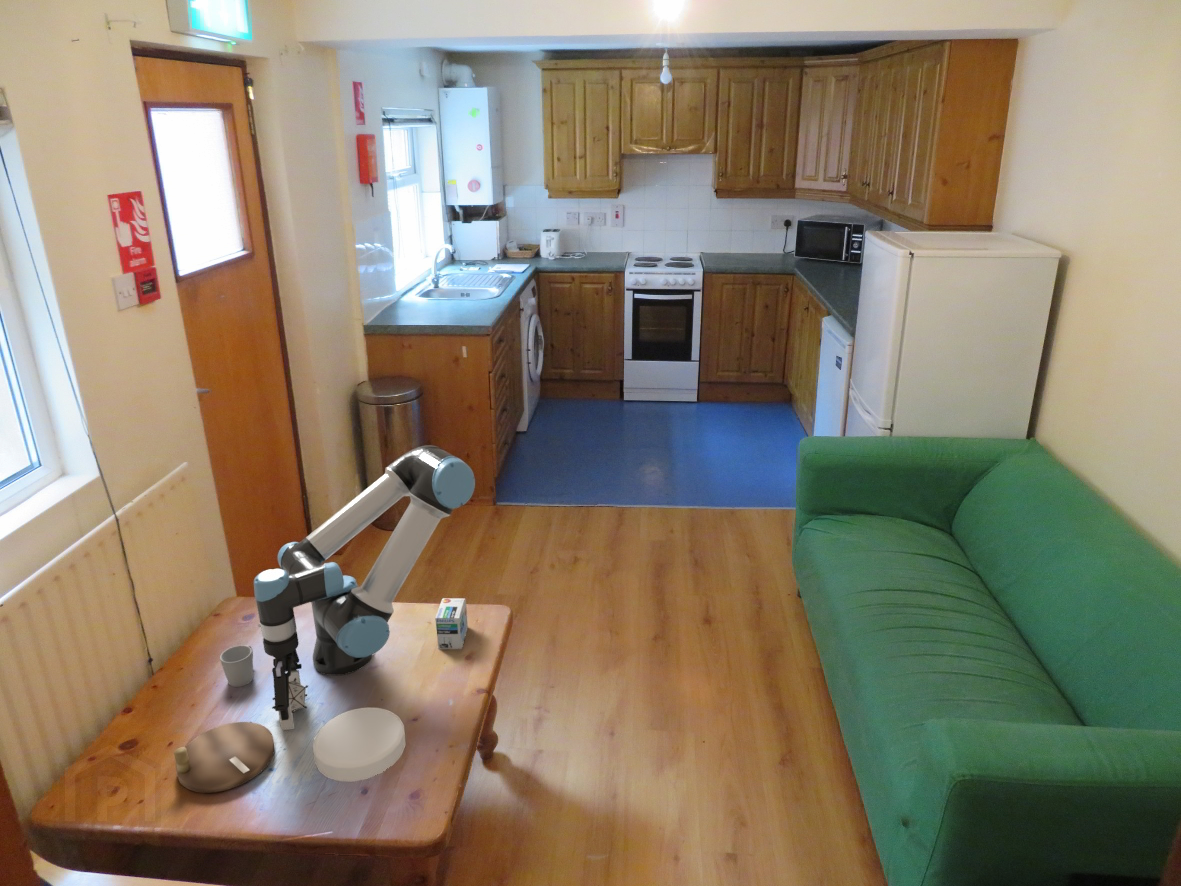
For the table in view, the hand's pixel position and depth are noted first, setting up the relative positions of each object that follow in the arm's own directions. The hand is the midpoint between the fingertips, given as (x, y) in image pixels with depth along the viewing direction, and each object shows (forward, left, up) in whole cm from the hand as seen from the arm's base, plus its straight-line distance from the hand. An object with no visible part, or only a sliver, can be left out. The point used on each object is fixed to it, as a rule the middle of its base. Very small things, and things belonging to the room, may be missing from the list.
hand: (292, 710), depth 197 cm
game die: (0, 0, -1) cm, 1 cm away
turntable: (+12, +14, -1) cm, 18 cm away
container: (-17, +16, -2) cm, 23 cm away
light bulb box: (-39, -23, -1) cm, 45 cm away
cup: (+14, -17, -1) cm, 23 cm away
